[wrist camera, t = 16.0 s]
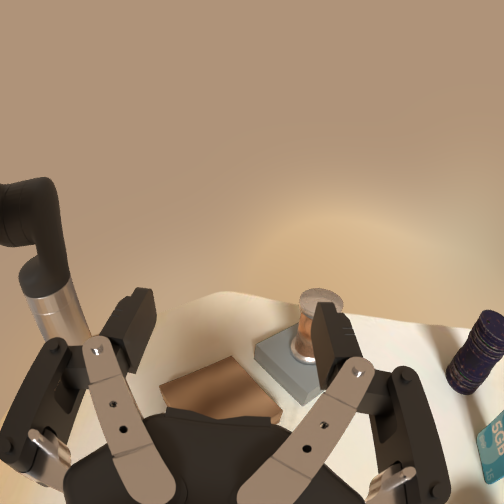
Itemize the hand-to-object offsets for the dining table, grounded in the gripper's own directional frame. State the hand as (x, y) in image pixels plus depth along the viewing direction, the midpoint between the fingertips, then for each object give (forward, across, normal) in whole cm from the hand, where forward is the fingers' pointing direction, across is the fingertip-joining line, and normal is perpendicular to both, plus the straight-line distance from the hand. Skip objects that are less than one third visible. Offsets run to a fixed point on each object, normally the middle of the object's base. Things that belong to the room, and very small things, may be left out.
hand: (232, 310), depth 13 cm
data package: (-8, -44, +30) cm, 54 cm away
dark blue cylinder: (+13, -47, +30) cm, 58 cm away
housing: (+21, -12, +26) cm, 36 cm away
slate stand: (+21, -12, +30) cm, 39 cm away
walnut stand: (+10, +2, +30) cm, 32 cm away
